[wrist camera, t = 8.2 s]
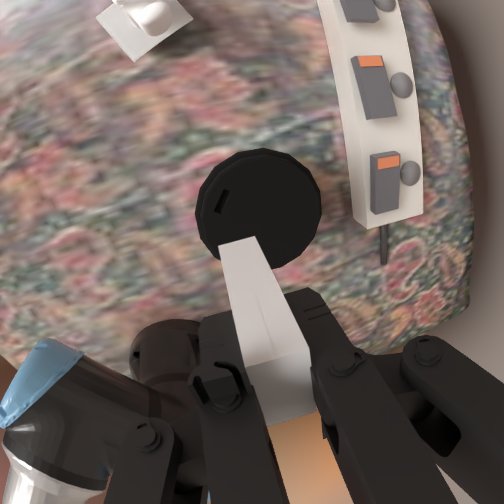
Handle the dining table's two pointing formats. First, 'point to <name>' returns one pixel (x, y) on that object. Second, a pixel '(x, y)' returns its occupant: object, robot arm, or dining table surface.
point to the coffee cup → (260, 205)
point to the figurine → (142, 23)
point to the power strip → (383, 129)
